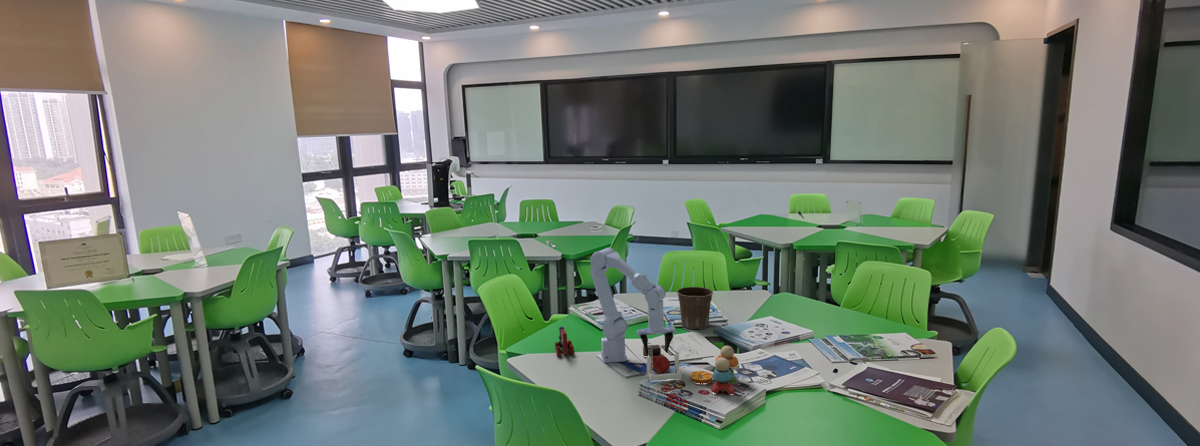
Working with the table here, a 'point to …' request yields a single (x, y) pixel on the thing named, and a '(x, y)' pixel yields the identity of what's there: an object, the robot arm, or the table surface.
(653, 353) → the rod
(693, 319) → the plant pot
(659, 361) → the onion
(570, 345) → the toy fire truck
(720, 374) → the wooden toy figures
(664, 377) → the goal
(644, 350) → the tan rectangular collar
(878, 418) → the table surface
